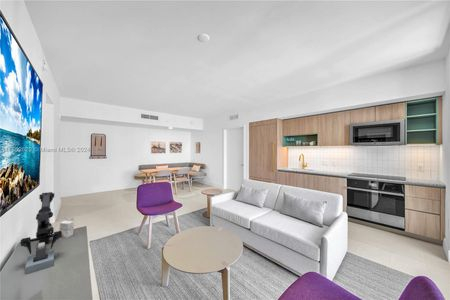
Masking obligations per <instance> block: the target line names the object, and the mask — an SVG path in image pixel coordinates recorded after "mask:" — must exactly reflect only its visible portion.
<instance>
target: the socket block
mask: <svg viewBox="0 0 450 300" xmlns="http://www.w3.org/2000/svg"><path fill="white" fill-rule="evenodd" d="M35 258H36V254H33V255H32V254H31V255H29V256H27V260H26V262H25V266H24V275H27V274H30V273H34V272H37V271H40V270H43V269H47V268H50V267H54V259H55V250H54V249H51V250H48V251H46V259H44V260H40V261H36V262H35Z"/></svg>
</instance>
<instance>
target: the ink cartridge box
mask: <svg viewBox="0 0 450 300" xmlns="http://www.w3.org/2000/svg"><path fill="white" fill-rule="evenodd" d="M74 223H75V221H74V217H67V216H66V217H65V218H64V221H61V222H59V229H58V231H62V234H61V236H63V237H64V238H69V237H71V236H73V235H74V226H75V224H74ZM63 237H62V238H63Z"/></svg>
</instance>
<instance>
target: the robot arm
mask: <svg viewBox="0 0 450 300" xmlns="http://www.w3.org/2000/svg"><path fill="white" fill-rule="evenodd" d="M38 198H39V200H40V202H41V208H40V209H39V210H38V213H37V214H36V216H35V220H36V222H37V228H36V232H35V237H33V238H31V236H29V237H25V238H21V239H20V243H19V244H20V247H24V248H27V250H28V253H29V254H30V255H32V243H33V242H37V241H38V243H36V244H35V245H36V246H38V244H39V243H41V242H45V245H48V244H49V243H51V244H50V249H51V250H53V247H54V245H55V243H56V241H57V240H59V239H60V238H62V237H61V234H62V231H59V230H57V231H55V230H54V229H55V228H54V227H53V226H52V223H51V222H50V221H51V220H50V219H51V218H52V217H53V216H54V213H53V212H52V209H51V203H52V202H53V199H55V193H54V192H52V191H49V192H48V191H47V192H42V193H41V194H39V197H38Z"/></svg>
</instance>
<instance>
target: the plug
mask: <svg viewBox="0 0 450 300" xmlns="http://www.w3.org/2000/svg"><path fill="white" fill-rule="evenodd" d="M38 243H39V242H38ZM38 243H37V244H38ZM47 245H48V244H45V242H41V243H39V244H38V245H37V247H36V249H35V255H36V258H35V262H36V261H40V260H44V259H46V252H47Z"/></svg>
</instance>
